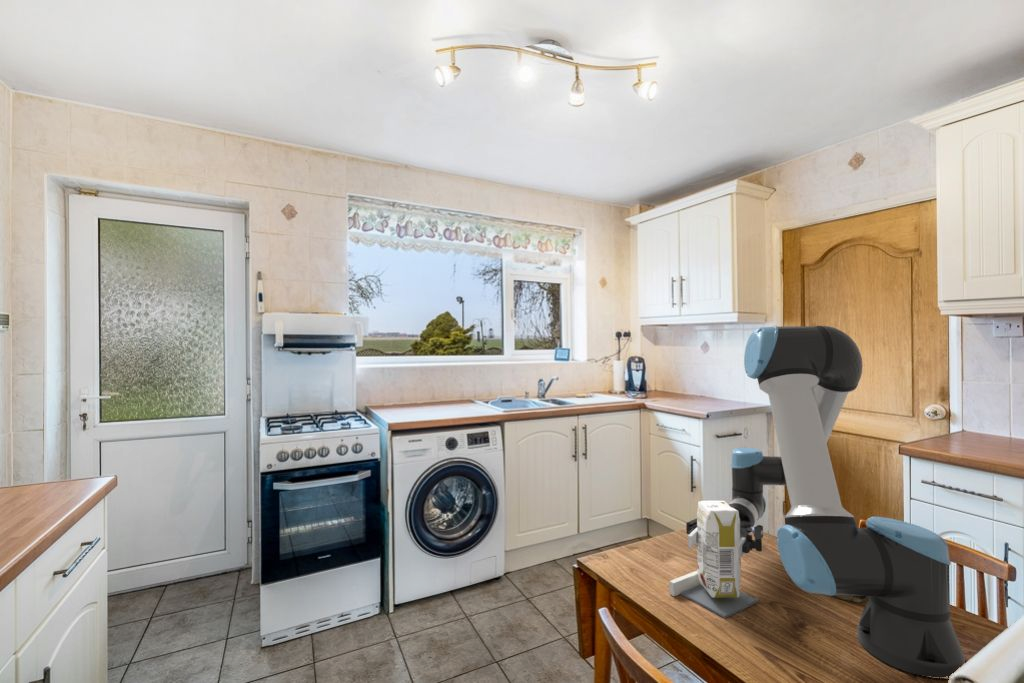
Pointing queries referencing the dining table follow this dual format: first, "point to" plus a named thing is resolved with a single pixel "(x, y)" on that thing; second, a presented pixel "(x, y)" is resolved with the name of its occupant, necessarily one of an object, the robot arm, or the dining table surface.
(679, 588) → the fence
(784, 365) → the robot arm
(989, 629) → the dining table surface
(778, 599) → the dining table surface
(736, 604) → the mat
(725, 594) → the juice carton
